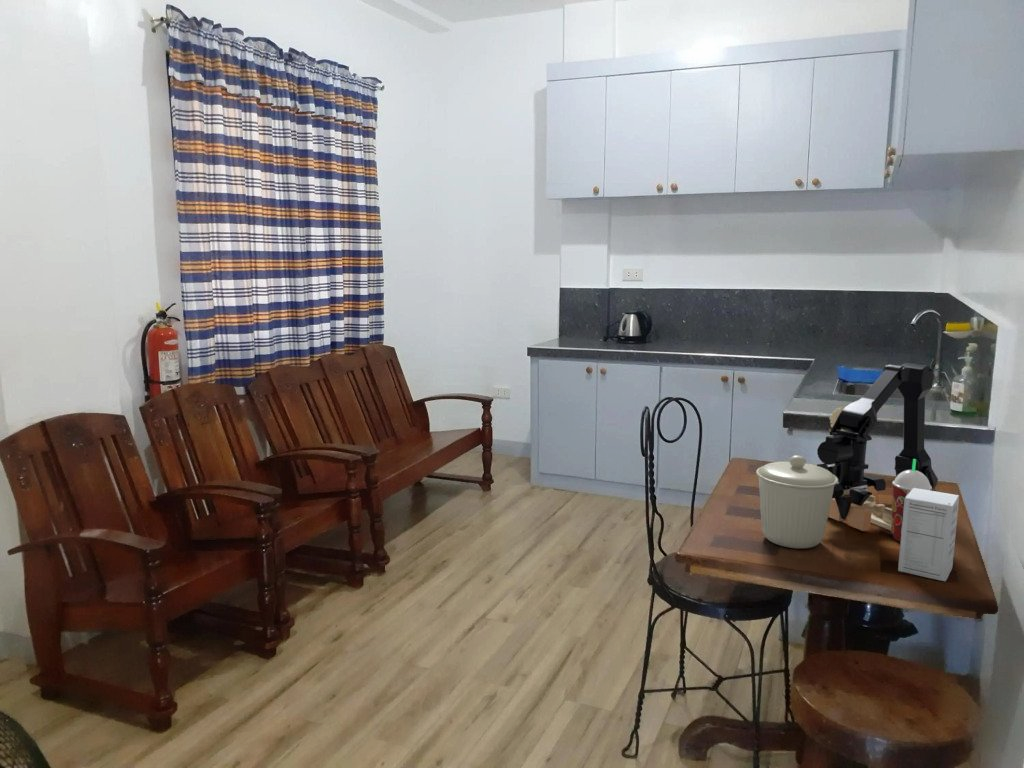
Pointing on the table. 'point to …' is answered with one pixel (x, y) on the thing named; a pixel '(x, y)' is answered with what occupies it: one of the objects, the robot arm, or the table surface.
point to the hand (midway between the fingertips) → (847, 518)
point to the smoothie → (901, 490)
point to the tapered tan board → (852, 515)
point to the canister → (795, 502)
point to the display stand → (879, 513)
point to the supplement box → (928, 533)
